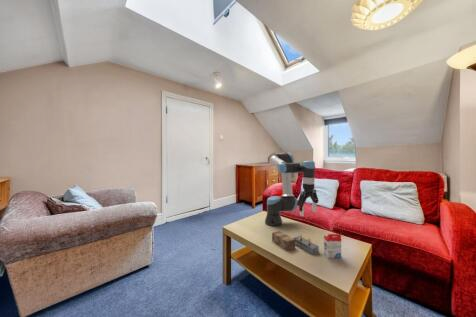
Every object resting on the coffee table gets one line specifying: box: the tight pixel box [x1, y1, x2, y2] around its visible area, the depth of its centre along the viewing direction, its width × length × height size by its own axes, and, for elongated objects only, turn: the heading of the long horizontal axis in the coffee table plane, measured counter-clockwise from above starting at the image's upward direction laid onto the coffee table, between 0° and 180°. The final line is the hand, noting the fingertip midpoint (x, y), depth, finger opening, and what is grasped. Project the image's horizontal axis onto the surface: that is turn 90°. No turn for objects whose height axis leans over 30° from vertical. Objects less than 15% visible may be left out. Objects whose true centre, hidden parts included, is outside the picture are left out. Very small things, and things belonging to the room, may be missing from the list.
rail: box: [293, 233, 320, 256], centre depth 120 cm, size 16×6×8 cm, turn 30°
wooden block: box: [271, 230, 296, 252], centre depth 124 cm, size 15×7×6 cm, turn 30°
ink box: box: [323, 233, 342, 259], centre depth 111 cm, size 8×5×15 cm, turn 92°
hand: (307, 213), depth 124 cm, fingers open, 13 cm apart
